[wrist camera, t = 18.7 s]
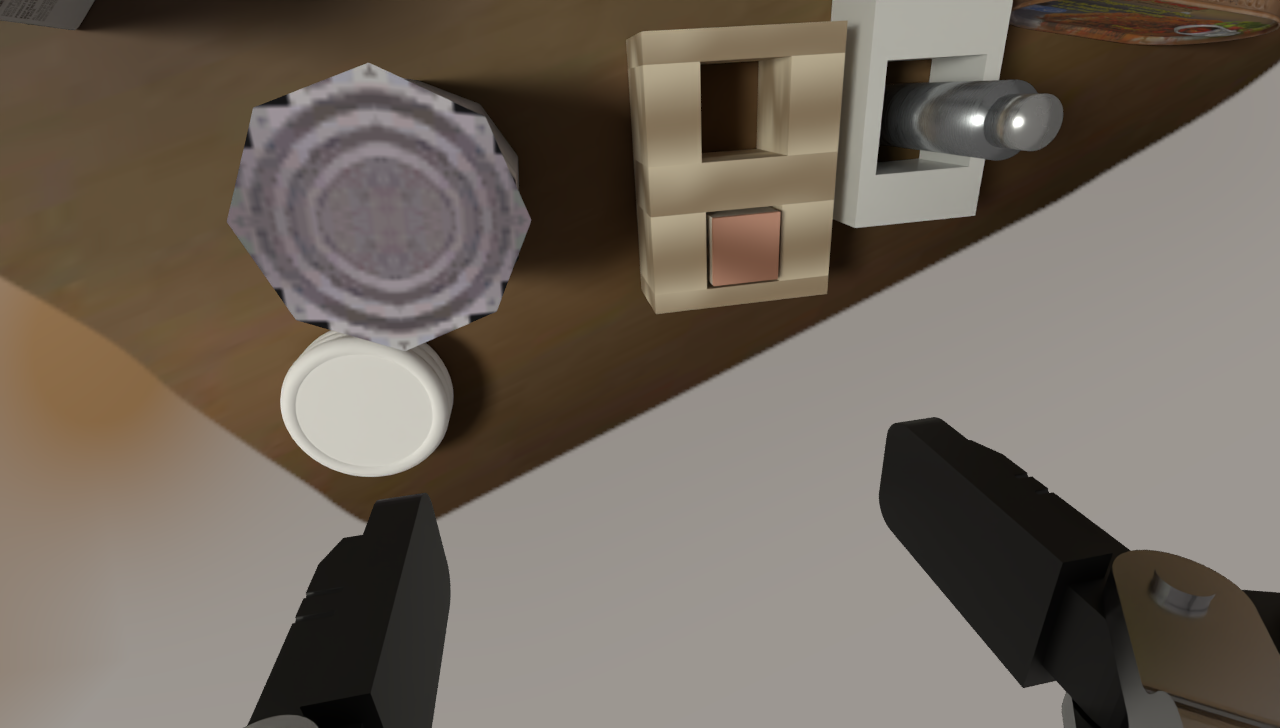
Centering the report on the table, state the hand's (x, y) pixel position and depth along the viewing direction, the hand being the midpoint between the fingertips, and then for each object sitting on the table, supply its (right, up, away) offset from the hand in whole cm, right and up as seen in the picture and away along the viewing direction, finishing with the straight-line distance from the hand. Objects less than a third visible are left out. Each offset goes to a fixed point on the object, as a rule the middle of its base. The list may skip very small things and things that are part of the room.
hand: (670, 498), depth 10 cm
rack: (+15, +20, +27) cm, 37 cm away
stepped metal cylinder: (+15, +19, +28) cm, 37 cm away
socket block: (+5, +15, +28) cm, 32 cm away
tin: (+28, +25, +28) cm, 47 cm away
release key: (+5, +11, +29) cm, 31 cm away
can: (-13, +13, +25) cm, 31 cm away
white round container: (-18, +1, +30) cm, 35 cm away
